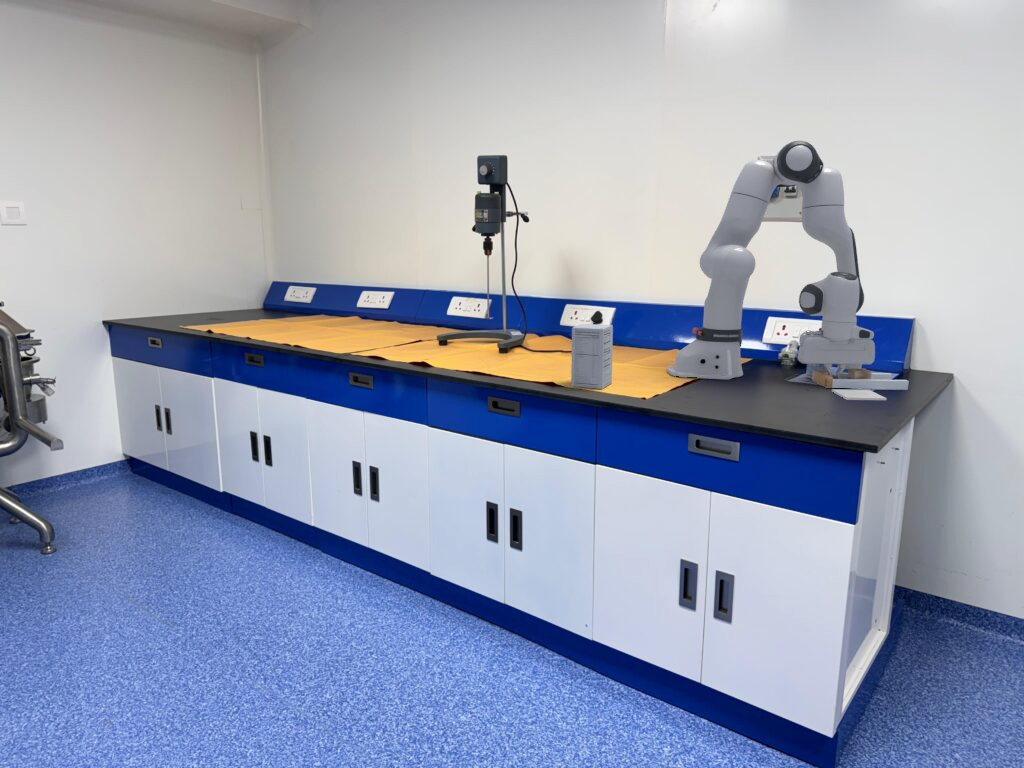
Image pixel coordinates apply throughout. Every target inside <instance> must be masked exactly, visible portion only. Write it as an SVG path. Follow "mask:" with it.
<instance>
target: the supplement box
mask: <svg viewBox="0 0 1024 768" xmlns="http://www.w3.org/2000/svg"><path fill="white" fill-rule="evenodd" d="M613 335H614V326H613V324H596V323H595V324H594V323H593V324H591V323H590V324H589V323H581V324H578V325H575V326H573V327H571V365H570V367H571V369H570V372H571V376H570V378H571V379H570V380H571V382H570V386H571V387H572V388H574V387H576V388H585V389H586V388H587V389H597V390H598V389H599V390H603V389H604V388H606V387H608V386H609V385H611V384H612V383H613V342H614V341H613V338H614V336H613Z"/></svg>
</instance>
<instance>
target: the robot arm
mask: <svg viewBox="0 0 1024 768" xmlns="http://www.w3.org/2000/svg"><path fill="white" fill-rule="evenodd" d="M818 153H819V152H817V150H816V148H815V147H814V145H813V144H811V143H810V142H808V141H805V140H793V141H791V142H788V143H786V145H784V146H783V147H782V148H781V149H780V150H779V151H778V152H777V154H775V156H774V157H773V158H772V159H771V160H767V161H766V160H763V159H754V160H753V159H752V160H750V161H748V162H746V164H744V165H743V168H742V169H741V170H740V173H739V174H738V176H737V179H736V180H735V183H734V185H733V187H732V190H731V193H730V195H729V198H728V201H727V203H726V206H725V209H724V212H723V215H722V217H721V219H720V221H719V223H718V226H717V228H716V230H715V231H714V233H713V235H712V237H711V238H710V240H709V243H708V244H707V246H706V248H705V250H704V251H703V252H702V254H701V255H700V258H699V267H700V270H701V271H702V273H703V274H704V276H706V277H707V278H709V279H711V282H710V286H709V289H708V292H707V296H706V298H705V300H704V302H703V303H704V304H703V306H704V307H703V319H702V321H703V322H702V327H693V328H692V330H691V332H692V334H694V335H695V339H694V340H693V341H691V342H690V343H689V344H687V345H686V346H684V347H683V348H681V349H680V350H679V351H678V352H677V355H676V358H675V361H674V365H669V366H668V367H667V373H668V374H669V375H670V376H672V377H673V376H674V377H676V376H679V377H678V378H687V377H697V378H696V379H709V380H732V379H733V378H739V377H742V376H743V375H744V371H743V368H742V367H743V366H742V360H741V347H742V344H743V329H742V321H743V320H742V318H743V307H744V305H743V304H744V299H745V296H746V292H747V288H748V284H749V281H750V277H751V276H752V274H753V273H754V271H755V269H756V259H755V256H754V254H753V253H752V252H751V251H750V250H749V249H748V248H747V247H748V246H749V244H750V242H751V240H752V239H753V238H754V237H755V235H756V234H757V233H758V232H759V229H760V228H761V225H762V222H763V219H764V216H765V214H766V211H767V209H768V207H769V206H768V205H769V203H770V199H771V197H772V195H773V193H774V190H775V189H776V188H792V187H795V186H796V187H797V188H799V190H800V193H801V197H802V198H801V199H802V202H801V204H802V205H801V223H802V227H803V230H804V231H805V233H806V234H807V235H808V236H809V237H811V238H812V239H814V240H815V241H818V242H820V243H822V244H824V245H826V246H827V247H829V248H830V249H831V250H832V251H833V253H834V256H835V261H836V271H832V272H830V273H829V274H828V275H827V276H826V277H824V278H823V279H821V280H819V281H815V282H813V283H812V282H811V283H808V284H806V285H804V286H803V288H802V289H801V291H800V293H799V298H798V303H799V308H800V309H801V311H802V312H803V313H804V314H805V315H807V316H811V317H817V316H818V317H821V316H822V318H821V327H820V330H805V331H804V332H802V333H801V334H800V335H799V341H798V342H799V348H798V351H797V352H798V353H797V361H799V363H801V364H806V365H807V364H824V367H825V369H826V371H827V373H828V374H827V375H829V376H831V377H833V379H840V374H841V373H842V372H843V370H844V369H845V365H846V364H862V365H872V364H873V363H874V362H875V358H876V345H875V342H874V340H873V338H874V336H875V333H874V331H872V330H870V329H867V328H864V327H862V326H860V325H857V322H858V319H857V313H858V312H859V311H860V310H861V308H862V307H863V305H864V301H865V293H864V290H863V286H862V282H861V277H860V269H859V262H858V261H859V260H858V252H857V244H856V238H855V233H854V231H853V229H852V228H851V227H850V226H849V225H848V221H847V218H846V215H845V190H844V182H843V176H842V173H841V172H840V171H839V170H838V169H836V168H834V167H829V166H828V167H827V166H824V162H823V160H822V159H821V157H820V155H819V154H818ZM833 365H836V366H837V369H838V370H836V371H835V372H832V370H831V368H833ZM838 367H839V368H838Z"/></svg>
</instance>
